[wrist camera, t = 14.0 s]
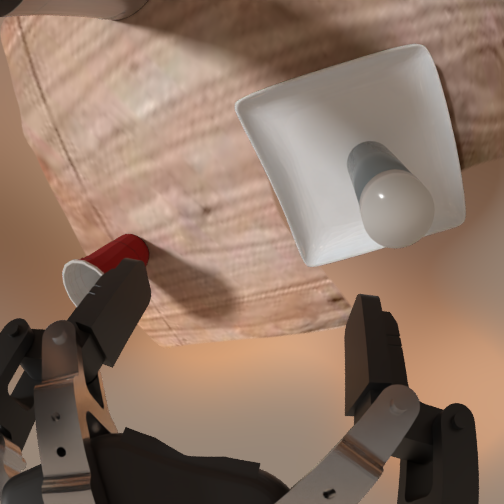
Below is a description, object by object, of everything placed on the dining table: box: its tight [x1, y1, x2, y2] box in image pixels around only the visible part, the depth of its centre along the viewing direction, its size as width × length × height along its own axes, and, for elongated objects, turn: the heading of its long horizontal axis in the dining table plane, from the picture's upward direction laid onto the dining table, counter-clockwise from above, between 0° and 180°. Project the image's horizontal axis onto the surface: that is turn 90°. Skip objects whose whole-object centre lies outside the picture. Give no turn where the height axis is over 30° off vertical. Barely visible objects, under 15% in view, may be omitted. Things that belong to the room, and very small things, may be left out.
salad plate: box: [235, 44, 466, 267], centre depth 28 cm, size 21×21×3 cm
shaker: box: [347, 141, 435, 248], centre depth 22 cm, size 5×5×12 cm
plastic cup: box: [62, 234, 149, 307], centre depth 38 cm, size 11×11×12 cm
